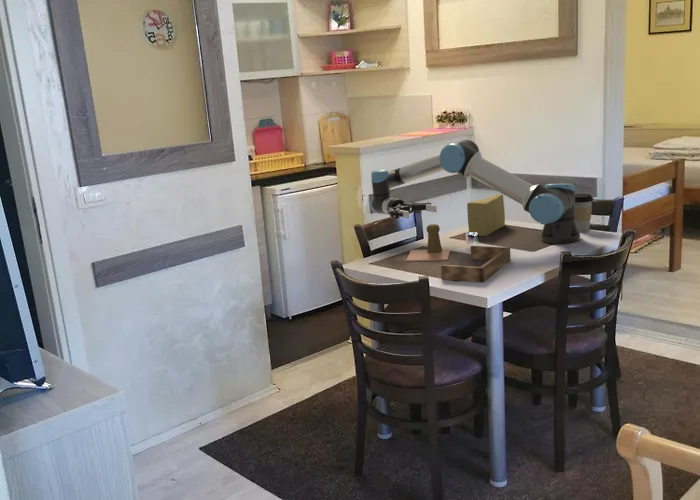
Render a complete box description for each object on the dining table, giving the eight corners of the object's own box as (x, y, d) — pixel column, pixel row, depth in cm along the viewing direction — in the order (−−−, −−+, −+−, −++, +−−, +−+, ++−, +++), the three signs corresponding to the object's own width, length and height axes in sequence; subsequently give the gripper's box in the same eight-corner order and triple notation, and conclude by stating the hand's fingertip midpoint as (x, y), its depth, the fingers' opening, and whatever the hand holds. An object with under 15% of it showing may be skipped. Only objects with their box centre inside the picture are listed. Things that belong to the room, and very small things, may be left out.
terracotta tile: (450, 249, 279) (450, 248, 278) (447, 260, 263) (447, 258, 263) (411, 251, 282) (411, 249, 282) (406, 261, 267) (406, 260, 267)
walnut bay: (441, 279, 240) (440, 265, 239) (472, 258, 263) (471, 245, 262) (482, 282, 232) (482, 268, 231) (510, 260, 255) (510, 247, 254)
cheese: (494, 224, 317) (493, 192, 313) (513, 226, 310) (512, 193, 306) (467, 235, 301) (466, 201, 298) (486, 237, 295) (485, 202, 291)
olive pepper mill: (428, 249, 280) (427, 223, 277) (443, 249, 278) (441, 222, 275) (425, 253, 274) (423, 226, 272) (440, 253, 272) (438, 226, 270)
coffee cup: (595, 232, 285) (594, 196, 281) (571, 233, 287) (570, 198, 284) (591, 227, 294) (591, 192, 290) (569, 228, 296) (568, 194, 292)
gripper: (418, 210, 303) (447, 215, 285) (370, 220, 292) (397, 226, 274) (417, 193, 301) (446, 197, 283) (368, 203, 290) (395, 208, 272)
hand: (422, 211), depth 278 cm, fingers open, 13 cm apart
